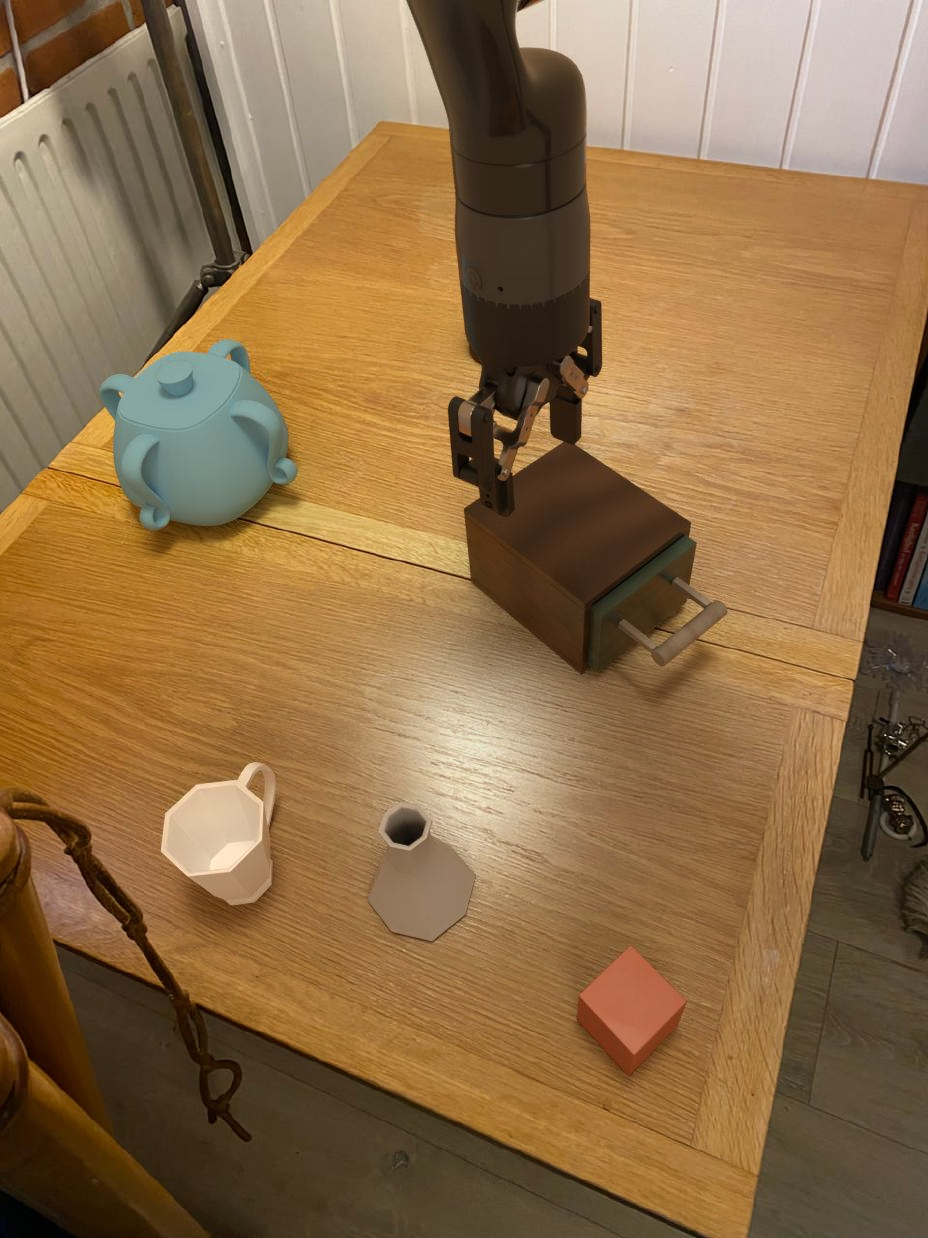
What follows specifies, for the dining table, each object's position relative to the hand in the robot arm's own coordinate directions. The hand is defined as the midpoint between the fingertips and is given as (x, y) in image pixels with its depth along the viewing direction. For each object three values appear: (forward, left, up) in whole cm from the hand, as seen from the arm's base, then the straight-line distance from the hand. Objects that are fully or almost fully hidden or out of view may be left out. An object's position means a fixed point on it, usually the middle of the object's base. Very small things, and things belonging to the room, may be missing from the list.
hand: (533, 473), depth 67 cm
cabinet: (-1, -5, -17) cm, 18 cm away
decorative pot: (+36, -1, -17) cm, 40 cm away
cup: (+8, +28, -17) cm, 34 cm away
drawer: (-5, -3, -16) cm, 17 cm away
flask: (-4, +24, -17) cm, 30 cm away
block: (-20, +25, -17) cm, 37 cm away
